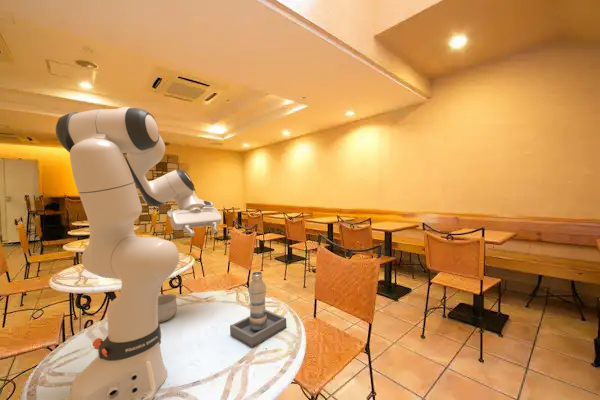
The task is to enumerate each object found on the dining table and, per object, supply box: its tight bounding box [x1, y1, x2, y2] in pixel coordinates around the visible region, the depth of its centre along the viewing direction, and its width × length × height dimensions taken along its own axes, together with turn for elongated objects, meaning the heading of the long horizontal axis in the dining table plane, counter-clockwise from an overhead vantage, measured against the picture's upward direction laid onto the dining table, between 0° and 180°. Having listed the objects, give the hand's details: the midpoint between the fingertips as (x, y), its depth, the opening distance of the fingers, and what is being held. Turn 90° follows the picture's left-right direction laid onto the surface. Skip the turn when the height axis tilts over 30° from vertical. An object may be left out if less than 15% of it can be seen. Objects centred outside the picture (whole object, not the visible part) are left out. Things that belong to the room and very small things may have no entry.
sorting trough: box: [229, 309, 287, 349], centre depth 92 cm, size 16×12×4 cm
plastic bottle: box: [248, 271, 267, 331], centre depth 92 cm, size 6×7×20 cm
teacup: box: [158, 293, 178, 323], centre depth 104 cm, size 14×11×8 cm
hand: (204, 233), depth 101 cm, fingers open, 8 cm apart
